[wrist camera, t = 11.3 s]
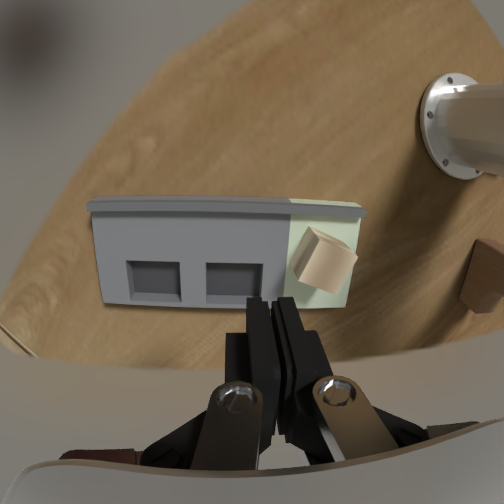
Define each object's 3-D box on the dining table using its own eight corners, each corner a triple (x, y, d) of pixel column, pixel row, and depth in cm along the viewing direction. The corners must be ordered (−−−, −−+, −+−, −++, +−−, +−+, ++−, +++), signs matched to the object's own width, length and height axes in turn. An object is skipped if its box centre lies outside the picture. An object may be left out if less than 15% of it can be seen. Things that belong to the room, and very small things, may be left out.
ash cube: (343, 241, 30) (358, 257, 26) (324, 276, 31) (336, 295, 28) (308, 225, 29) (319, 239, 25) (289, 262, 30) (298, 280, 27)
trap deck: (354, 202, 31) (366, 209, 28) (339, 298, 35) (348, 312, 32) (98, 196, 29) (86, 203, 26) (109, 293, 33) (100, 307, 30)
